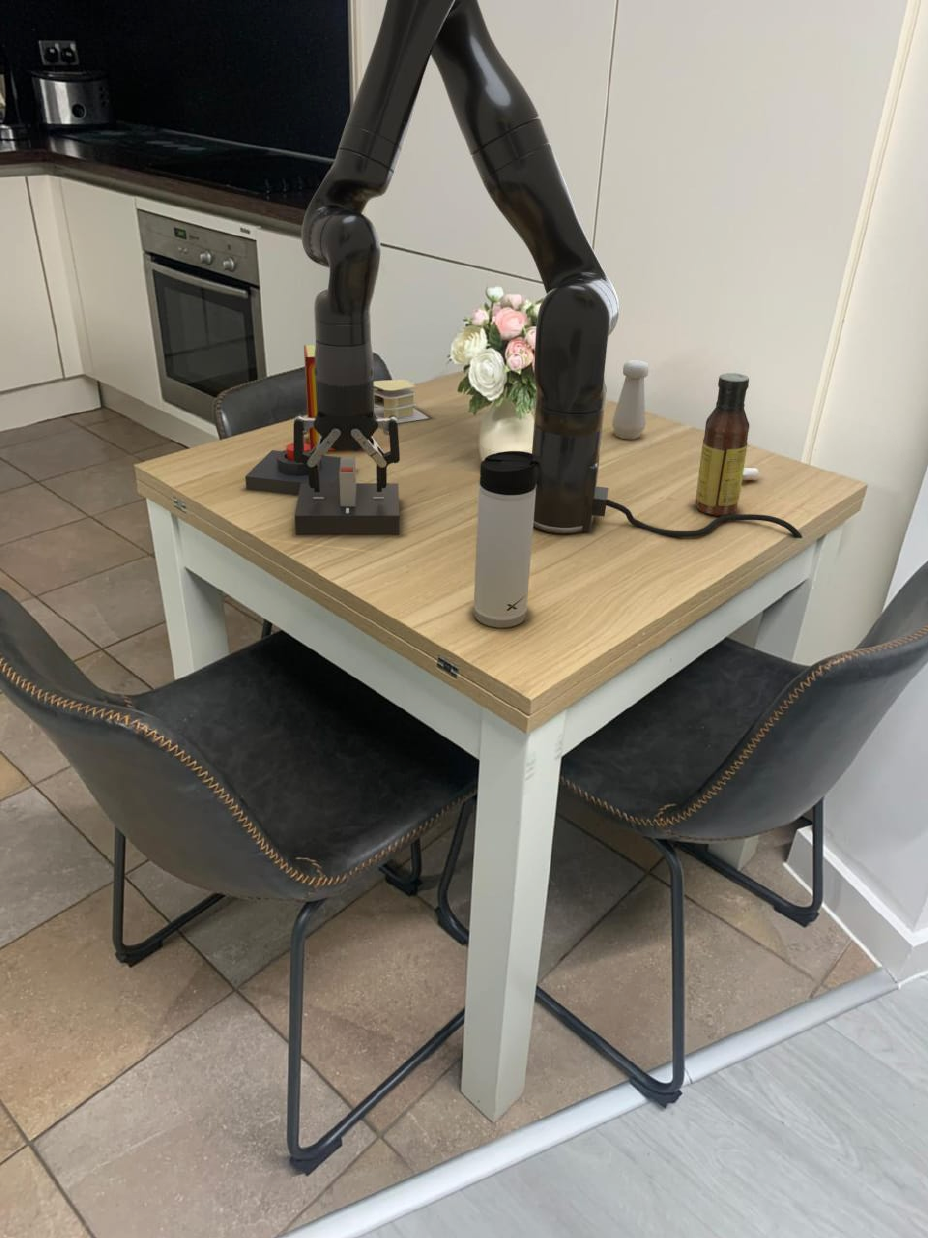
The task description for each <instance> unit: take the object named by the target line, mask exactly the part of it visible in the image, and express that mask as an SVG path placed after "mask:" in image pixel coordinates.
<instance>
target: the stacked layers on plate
mask: <svg viewBox="0 0 928 1238" xmlns="http://www.w3.org/2000/svg"><path fill="white" fill-rule="evenodd" d="M416 386H417V385H415V384H414V383H412V382H411V381H409V380H407V379H392V380H391V379H390V380H377V381H374V413H375V416H376V417H377V419H381V418H389V416H391V415H395V416H396V417H397V421H398V424H401V423H407V422H413V421H419V420H427V419H429V417H428V416H427V415H425V414H424V413H422V412H421V411H419V410H418V409H416V408H415V406H417V404H416V403H415V402H414V396H415V395H417V392H416V391H414V390H412V389H410V388H413V387H416ZM375 387H376V388H375Z"/></svg>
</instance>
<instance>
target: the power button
mask: <svg viewBox="0 0 928 1238" xmlns="http://www.w3.org/2000/svg"><path fill="white" fill-rule="evenodd" d="M285 450H286V451H287V459H288V460H291V461H294V459H293V443H289V444H287V446H286V447H285ZM304 451H306V452H309V453H310V452H311V446H310V445H309V443H306V442H304Z"/></svg>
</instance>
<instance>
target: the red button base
mask: <svg viewBox="0 0 928 1238" xmlns="http://www.w3.org/2000/svg"><path fill="white" fill-rule="evenodd" d="M312 450H313V449H311V451H312ZM341 457H342V456H332V455H324V456H323V457H322V458H321V459H320V460H319V469H320V483H340V477H339V471H340V461H341ZM244 478H245V489H246V490H248V491H256V492H257V491H258V492H267V493H273V494H274V493H275V494H284V495H292V496H293V495H294V496H298V495H299V490H300V485H301V483H309V474H308V467H307V465H306V464H304V463H301V462H300V463H296V462H295V461H291V460H288V459H287V451H286V449H285V450H275V449H272V450H270V451H269V453H267V454H266V455H265V456H264V457H263V458H262V459H261V460H260V461H259V462H258V463H257V464H256V465H255V466H254V467H253V468H252V469H251V470H250V471H249V472H248V473H247V474H246V475H245V476H244Z"/></svg>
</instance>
